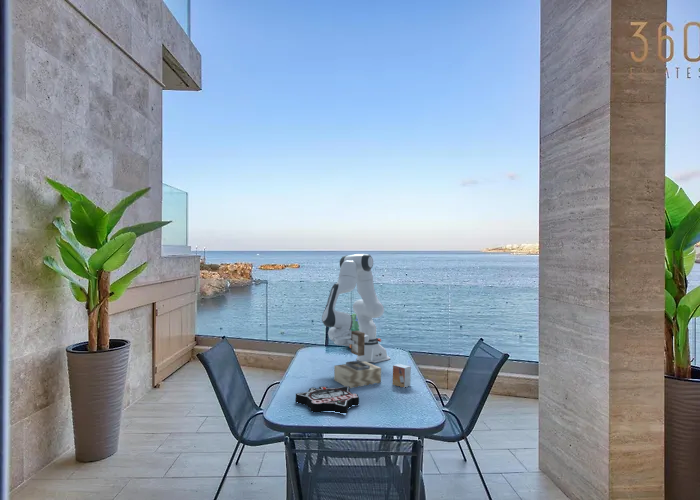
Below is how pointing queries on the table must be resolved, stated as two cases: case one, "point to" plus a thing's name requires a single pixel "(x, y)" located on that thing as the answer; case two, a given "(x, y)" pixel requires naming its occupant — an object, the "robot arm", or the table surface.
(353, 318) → the potted cactus
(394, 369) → the small box
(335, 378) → the beige rectangular block
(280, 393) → the table surface
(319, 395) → the wall plaque
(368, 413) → the table surface
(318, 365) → the table surface
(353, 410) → the table surface
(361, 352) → the tall brown block
